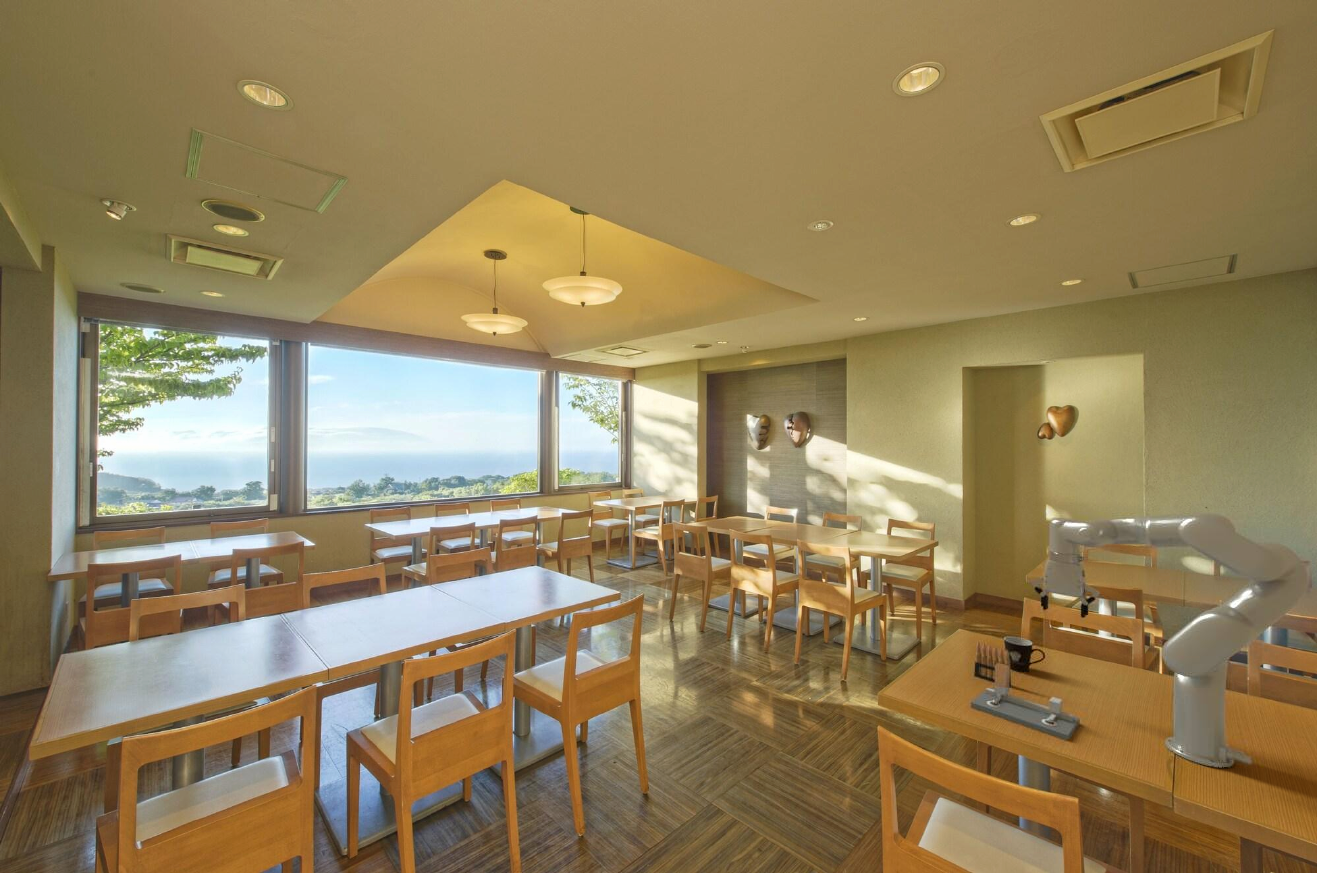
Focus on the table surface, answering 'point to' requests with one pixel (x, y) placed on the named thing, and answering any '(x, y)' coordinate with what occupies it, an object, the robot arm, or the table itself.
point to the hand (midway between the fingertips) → (1064, 612)
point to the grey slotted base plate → (1029, 713)
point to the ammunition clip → (989, 663)
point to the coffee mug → (1020, 653)
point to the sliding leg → (1001, 682)
